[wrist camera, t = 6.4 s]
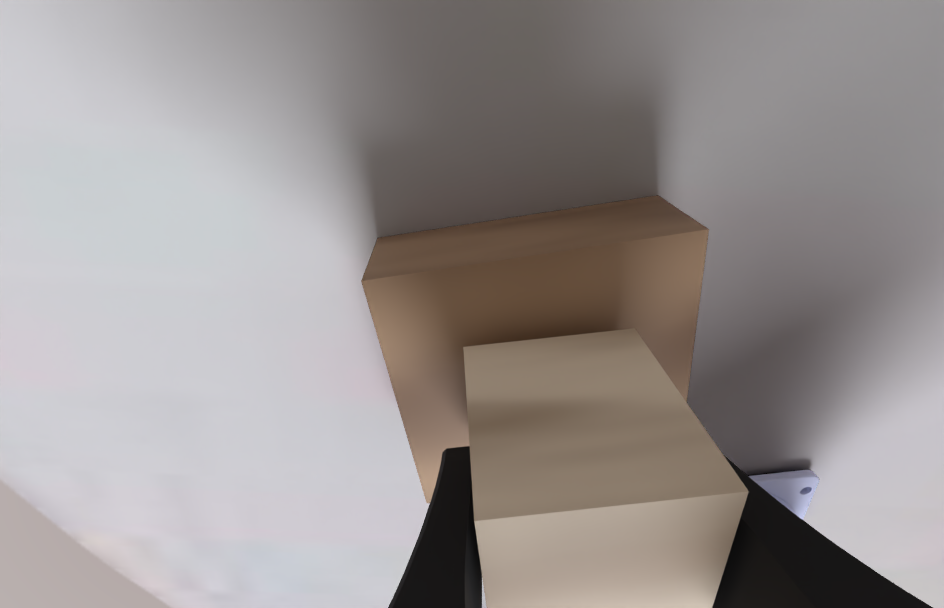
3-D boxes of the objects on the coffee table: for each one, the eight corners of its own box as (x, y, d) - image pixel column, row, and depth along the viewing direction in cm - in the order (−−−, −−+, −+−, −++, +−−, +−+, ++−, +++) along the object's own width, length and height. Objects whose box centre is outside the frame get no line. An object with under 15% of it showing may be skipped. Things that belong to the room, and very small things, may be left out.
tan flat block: (640, 401, 19) (677, 469, 16) (430, 431, 19) (426, 503, 16) (653, 192, 14) (709, 229, 11) (379, 233, 15) (361, 280, 12)
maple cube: (622, 450, 14) (705, 632, 9) (478, 466, 14) (493, 655, 9) (634, 328, 12) (748, 491, 7) (463, 347, 12) (474, 521, 7)
